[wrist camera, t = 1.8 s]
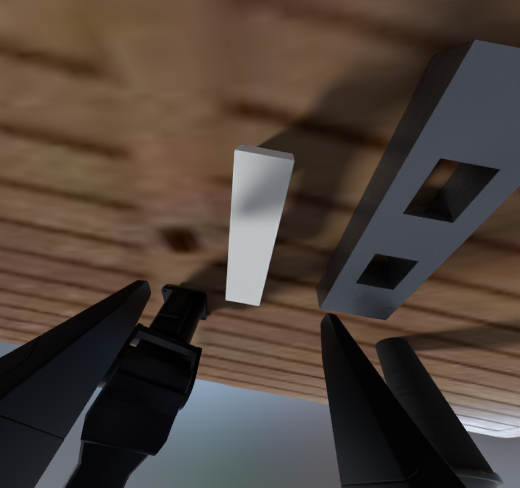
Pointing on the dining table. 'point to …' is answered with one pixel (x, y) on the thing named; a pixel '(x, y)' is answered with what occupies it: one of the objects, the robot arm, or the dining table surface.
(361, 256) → the rail
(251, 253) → the clip
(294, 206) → the dining table surface
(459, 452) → the drinking cup
